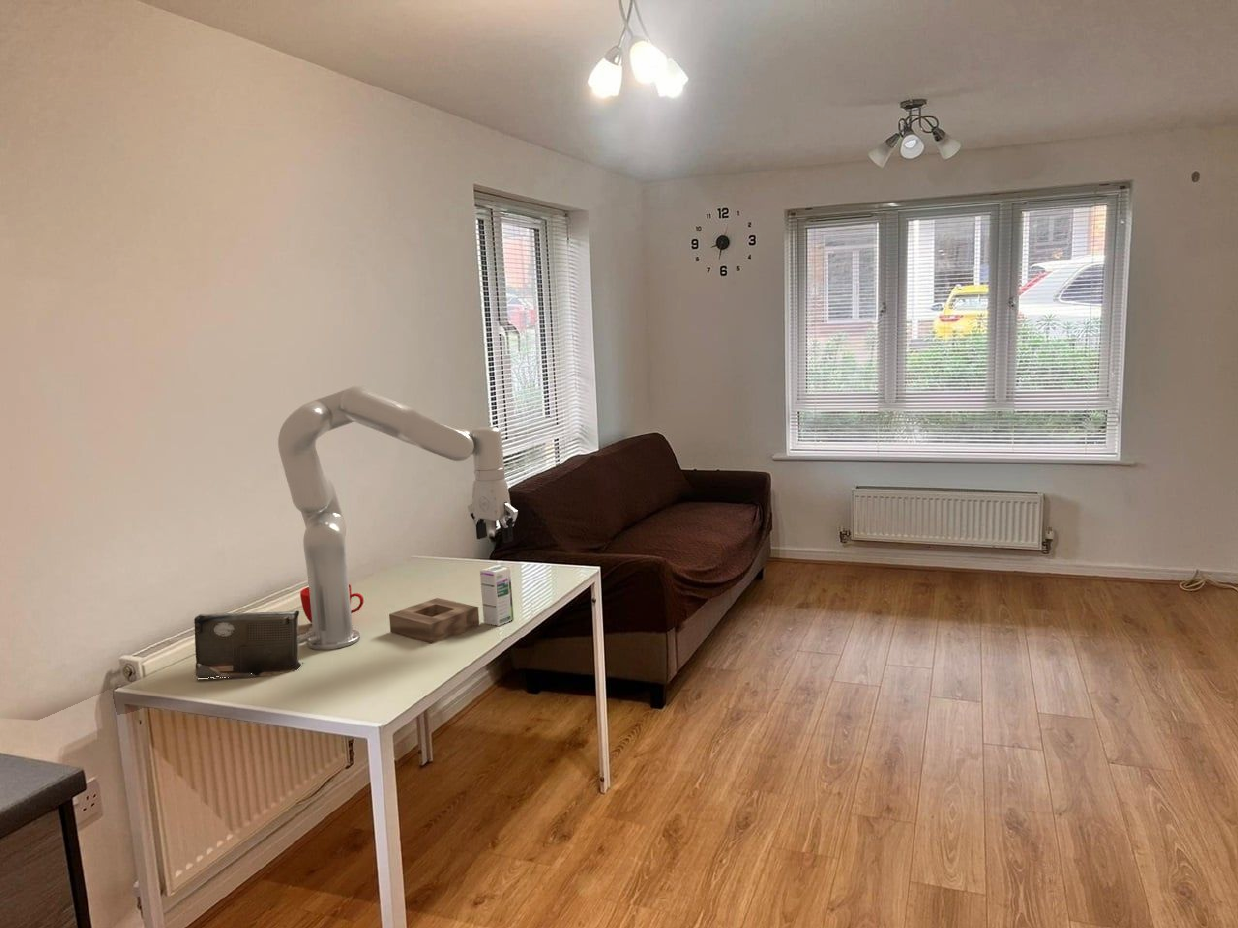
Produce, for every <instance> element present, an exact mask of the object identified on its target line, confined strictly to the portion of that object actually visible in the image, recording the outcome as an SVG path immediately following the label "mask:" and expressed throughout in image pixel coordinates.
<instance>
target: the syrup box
mask: <svg viewBox="0 0 1238 928" xmlns="http://www.w3.org/2000/svg"><path fill="white" fill-rule="evenodd" d="M479 578H480V579H479V581H480V589H481V591H480V592H481V593H480V594H481V600H482V601H481V604H482V614H483V615H482V616H483V623H485V624H487V623H488V625H491V624H492V626H495V625H497V626H496V627H501V625H504V623H505V624H507V623H509V621H510V622H511V620H513V621H514V620H515V617H514V606H513V605H514V604H513V603H514V602H513V593H512V592H513V591H512V590H513V589H512V579H511V578H512V577H511V568H510V567H509V566H505V565H504V566H503V565H497V564H496V565H493V566H491V567H486V568H484V569H481V570H479Z"/></svg>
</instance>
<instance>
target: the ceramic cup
mask: <svg viewBox="0 0 1238 928" xmlns="http://www.w3.org/2000/svg"><path fill="white" fill-rule="evenodd" d="M349 591H350V602H351V603H352V598H353V597H357V598H358V599H359V604H358V605H357V607H356V608H353V609H351V614H353V613H355V612H358V611H359V610H360V609H361V608H362V606H363V604H364V597H363V596H362V594H360V593H357V592H354V593H352V584H351V583H349ZM299 594H300V595H299V597H300V602H301V607H302V610H303V613H304V615H305V617H306V619H307V620H308V621H309V623H311V624H312V615H311V605H310V594H309V586H306V587H304V588H302V589H301V590H300V593H299Z"/></svg>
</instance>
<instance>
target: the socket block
mask: <svg viewBox="0 0 1238 928" xmlns="http://www.w3.org/2000/svg"><path fill="white" fill-rule="evenodd" d="M388 619H389V630H390V631H389V632H390V633H391V634H394V635H397V636H401V637H405V638H408V639H412V640H415V641H419V642H421V643H422V642H424V643H426V644H430V645H433V644H435V643H437V642H441V641H443V640H446V639H448V638H452V637H454V636H457V635H458V634H461V633H464V632H466V631H467V632H468V631H469V630H471V629H474V628H477V627H479V626H480V616H479V607H478V606H475V605H470V604H466V603H463V602H462V603H461V602H456V601H453V600H448V599H443V598H440V597H436V598H433V599H430V600H427V601H423V602H422V603H421V602H420V603H418V604H415V605H412V606H409V607H406V608H403V609H400V610H397V611H395V612H391V613H389V614H388Z"/></svg>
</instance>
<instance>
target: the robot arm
mask: <svg viewBox="0 0 1238 928" xmlns="http://www.w3.org/2000/svg"><path fill="white" fill-rule="evenodd" d="M353 423H357V424H359V425H361V426H365V427H367V428H370V429H372V430H375V431H378V432H380V433H383V434H385V435H387V436H390V437H392V438H395V439H397V440H398V441H401V442H403V443H407V444H410V445H412V446H415V447H417V448H419V449H422V450H425V451H427V452H430V453H432V454H435V455H437V456H439V457H442V458H444V459H447V460H450V461H453V462H463V461H465V460H468V459H469V458H470V457H471V455H472V456H473V468H474V469H473V470H474V471H473V474H474V480H473V482H472V483H473V484H472V489H471V490H472V491H471V492H472V493H471V498H472V499H471V502H472V503H471V504H470V505H467V509H468V512H469V514H470V517H471V519H472V520H473V524H474V525H475V534H476V535H475V536H476V537H475V538H476V540H481V539H482V540H483V539H485V538H487V537H488V531H487V522H486V520H487V521H495V522H496V521H497V522H498V521H499V522H500V523H501V525H502V527H501V535H502V543H503V544H507V543H510V542H513V541H514V534H513V531H514V530H513V527H514V525H515V523H516V522H517V517H518V514H519V511H518V510H517V509H516V508H515V507H513V506H512V505H511V499H510V492H509V489H508V488H509V487H508V483H507V481H506V477H505V468H504V467H505V466H504V454H503V453H504V452H503V440H502V431H501V430H500V428H499V427H496V426H482V427H481V426H480V427H477V428H461V427H460V428H459V427H457V428H453V427H450V426H448V425H445V424H444V423H441V422H440V421H436V420H434V419H432V418H430V417H427V416H426V415H424V414H423V413H421V412H420V411H418V410H416V409H415V408H413V407H411V406H409V405H407V404H404V403H401V402H399V401H395V400H393V399H391V398H389V397H386V396H383V395H381V394H379V393H377V392H374V391H372V390H370V389H368V388H367V387H365V386H361V385H355V386H351V387H349V388H346V389H344V390H341V391H337V392H335V393H332V394H328V395H326V396H323V397H320V398H317V399H315V400H311V401H309V402H306V403H304V404H302V405H300V406H299V407H298V408H297V409H295V410H294V411H293V412H292V413H291V414H290V415H289V416H288V417H287V418H286V419H285V421H284V422H283V423H282V425H281V427H280V429H279V432H278V437H277V446H278V453H279V457H280V460H281V464H282V467H283V471H284V475H285V478H286V481H287V484H288V488H289V491H290V496H291V499H292V503H293V505H294V507H295V508H296V509H297V510H298V511H299V512H300V513H301V517H302V519H303V522H304V525H305V530H304V535H303V540H302V541H303V542H302V543H303V545H302V546H303V552H304V558H305V559H304V560H305V565H306V567H305V568H306V572H307V573H306V574H307V583H308V587H309V594H310V605H311V615H312V623H311V624H312V626H310V627H308V631H307V632H306V633H304V634H300V635H298V645H300V644H303V643H305V642H306V644H307V646H308V647H309V648H311V649H313V650H321V651H322V650H326V651H328V650H335V649H340V648H345V647H347V646H350V645H353V644H355V643H357V642H358V641H359V640H360V638H361V634H360V632H359V631H358V630H356V629H354V626H353V617H352V616H353V615H352V614H353V613H351V610H352V601H351V602H350V591H349V584H350V583H349V571H348V570H349V569H348V562H347V561H348V560H347V551H346V535H347V533H346V532H347V527H346V526H347V525H346V523H345V522H346V521H345V518H344V515H343V513H342V512H343V511H342V509H341V506H340V503H339V500H338V496H337V492H336V489H335V487H334V484H333V482H332V481H331V479H330V478H329V477H328V476H327V475H325V473H324V470H323V468H322V464H321V460H320V457H319V454H318V451H317V447H316V445H317V444H316V443H317V440H318V439H319V438H320V437H322V436H323V435H325V434H326V433H328V432H330V431H332V430H335V429H339V428H342V427H343V426H347V425H349V424H353Z"/></svg>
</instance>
